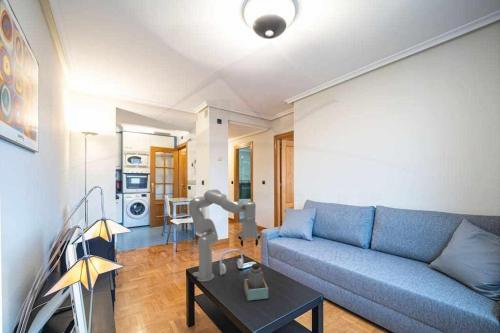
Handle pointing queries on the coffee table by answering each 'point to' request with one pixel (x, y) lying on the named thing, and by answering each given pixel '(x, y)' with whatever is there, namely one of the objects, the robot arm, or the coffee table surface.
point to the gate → (257, 294)
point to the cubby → (248, 286)
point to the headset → (239, 262)
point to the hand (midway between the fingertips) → (249, 245)
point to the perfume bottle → (255, 277)
